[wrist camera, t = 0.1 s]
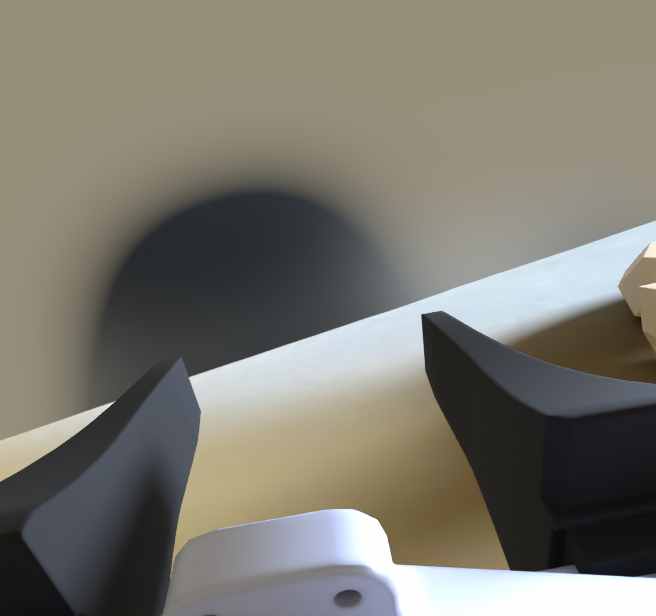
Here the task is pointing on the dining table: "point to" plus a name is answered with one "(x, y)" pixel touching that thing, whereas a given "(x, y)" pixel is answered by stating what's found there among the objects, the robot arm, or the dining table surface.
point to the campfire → (642, 290)
